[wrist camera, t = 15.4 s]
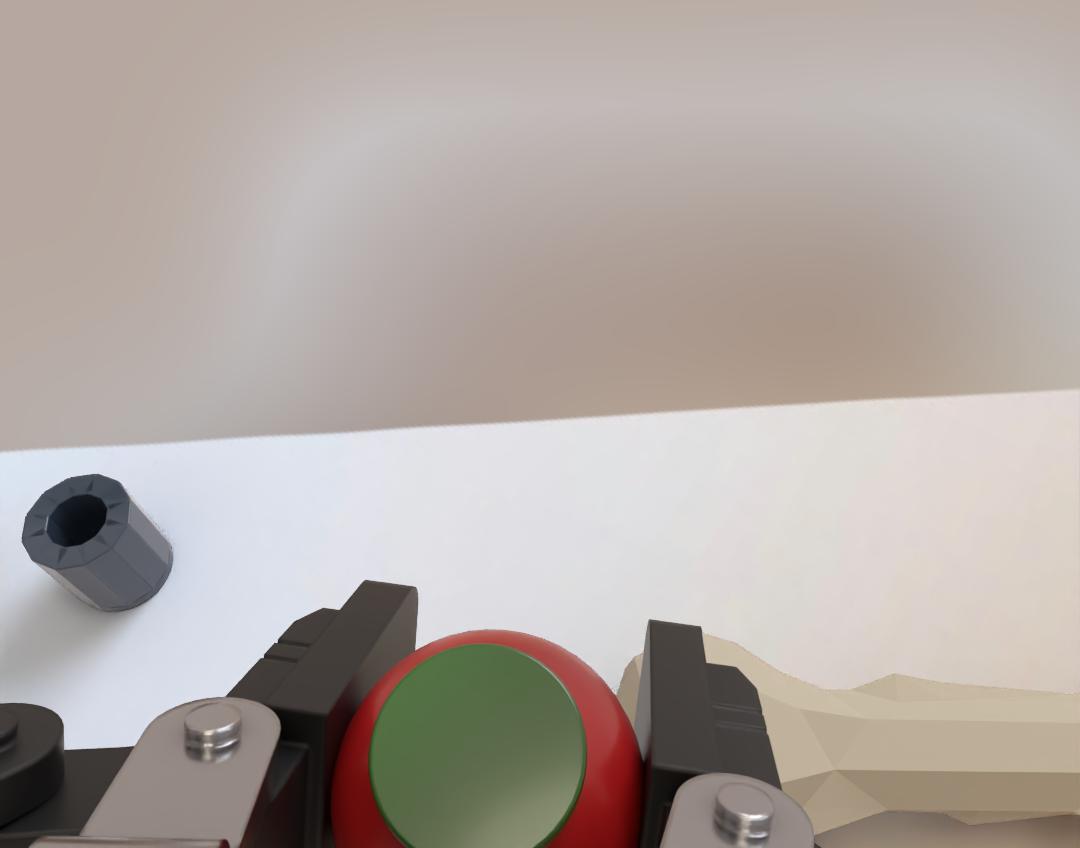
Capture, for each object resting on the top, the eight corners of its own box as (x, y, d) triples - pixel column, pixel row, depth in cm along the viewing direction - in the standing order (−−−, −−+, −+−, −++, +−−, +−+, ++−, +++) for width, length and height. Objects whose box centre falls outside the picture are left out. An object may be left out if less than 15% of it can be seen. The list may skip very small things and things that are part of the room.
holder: (57, 593, 40) (-1, 547, 36) (113, 512, 42) (66, 461, 38) (137, 625, 39) (88, 582, 35) (191, 541, 42) (150, 492, 37)
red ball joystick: (404, 937, 17) (216, 871, 7) (473, 764, 19) (391, 531, 9) (570, 1011, 16) (594, 1043, 7) (625, 825, 18) (708, 641, 8)
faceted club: (586, 638, 37) (1154, 645, 38) (587, 856, 35) (1196, 860, 36) (608, 620, 29) (1337, 630, 30) (612, 907, 26) (1410, 910, 27)
